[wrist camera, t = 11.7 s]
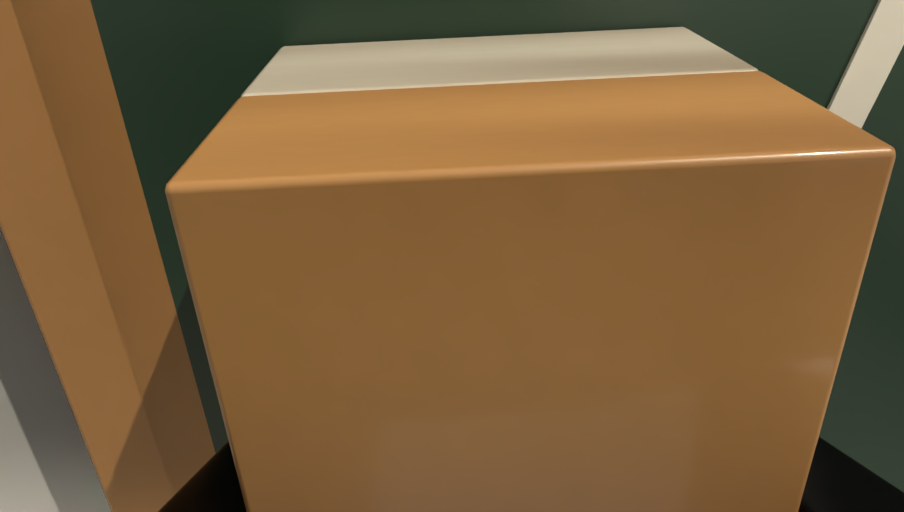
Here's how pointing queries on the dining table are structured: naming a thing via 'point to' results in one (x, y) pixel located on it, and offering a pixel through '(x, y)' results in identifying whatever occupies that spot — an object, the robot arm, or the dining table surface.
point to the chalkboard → (222, 83)
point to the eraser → (525, 274)
